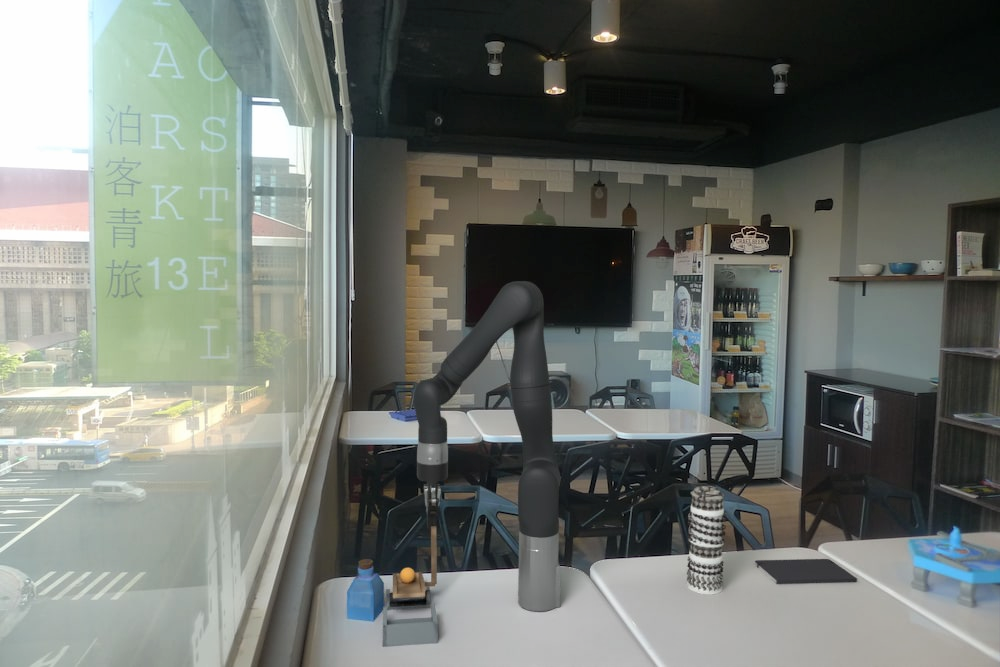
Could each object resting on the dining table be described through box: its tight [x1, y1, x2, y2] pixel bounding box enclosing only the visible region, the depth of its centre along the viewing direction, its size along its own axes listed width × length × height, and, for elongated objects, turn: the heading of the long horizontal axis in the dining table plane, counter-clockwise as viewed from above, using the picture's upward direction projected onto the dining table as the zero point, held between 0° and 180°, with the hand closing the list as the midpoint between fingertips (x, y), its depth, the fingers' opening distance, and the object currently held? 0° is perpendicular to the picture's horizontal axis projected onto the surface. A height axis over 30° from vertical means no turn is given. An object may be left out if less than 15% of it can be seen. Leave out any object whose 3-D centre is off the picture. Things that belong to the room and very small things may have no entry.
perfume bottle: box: [346, 558, 385, 623], centre depth 154 cm, size 6×6×12 cm
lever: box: [392, 525, 438, 598], centre depth 160 cm, size 10×17×14 cm, turn 9°
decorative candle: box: [686, 485, 728, 596], centre depth 169 cm, size 9×9×25 cm
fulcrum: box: [385, 587, 431, 611], centre depth 159 cm, size 10×5×3 cm, turn 99°
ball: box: [400, 567, 416, 583], centre depth 165 cm, size 4×4×4 cm
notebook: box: [754, 558, 858, 585], centre depth 180 cm, size 13×2×21 cm
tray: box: [382, 603, 439, 648], centre depth 145 cm, size 11×10×4 cm
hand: (431, 528), depth 168 cm, fingers closed
